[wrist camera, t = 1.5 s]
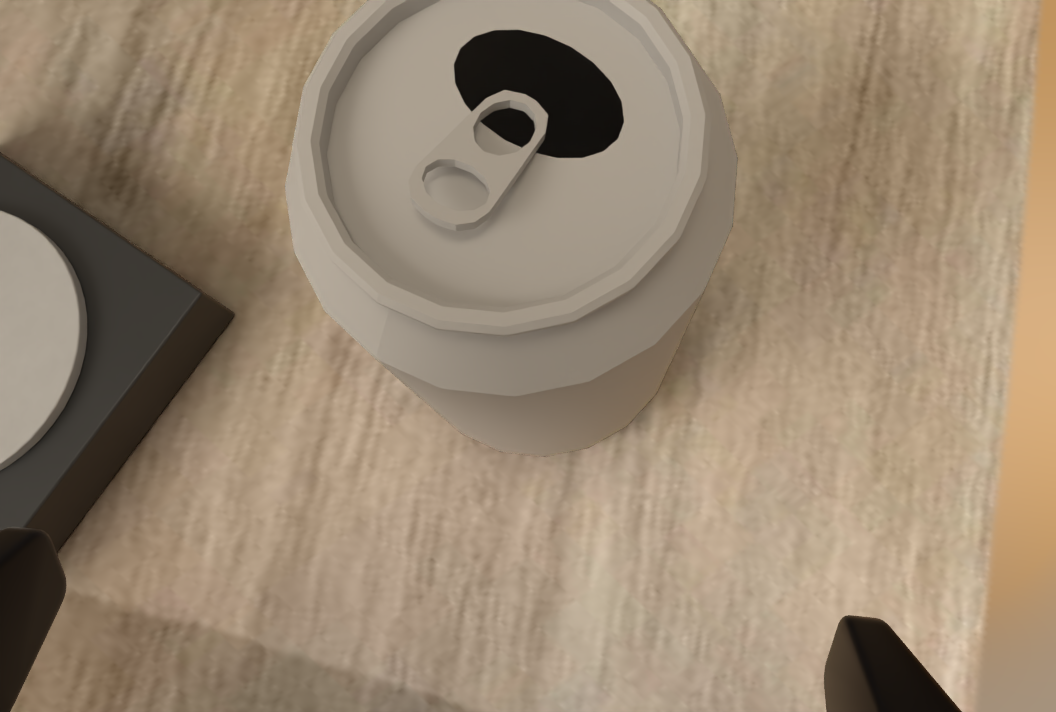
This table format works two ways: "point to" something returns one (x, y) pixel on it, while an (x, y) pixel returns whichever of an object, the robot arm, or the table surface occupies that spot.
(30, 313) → the scale
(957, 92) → the table surface
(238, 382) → the table surface
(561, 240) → the can
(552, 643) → the table surface
